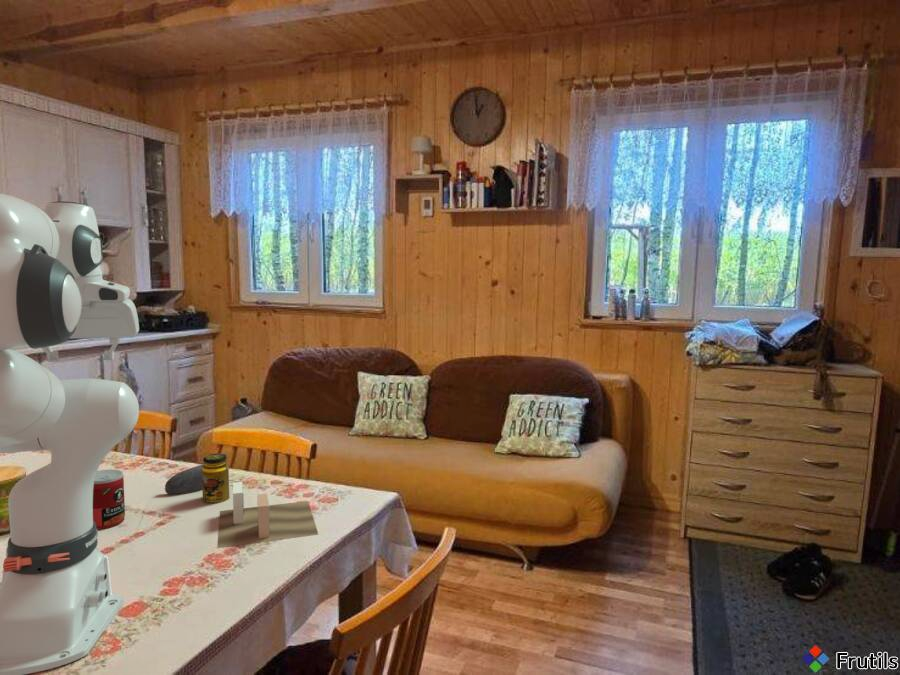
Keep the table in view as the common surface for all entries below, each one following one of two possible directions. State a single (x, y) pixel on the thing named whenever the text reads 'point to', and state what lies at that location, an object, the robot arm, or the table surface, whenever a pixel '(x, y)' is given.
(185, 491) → the perforated stone tool
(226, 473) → the condiment
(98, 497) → the canned food
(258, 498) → the terracotta tile
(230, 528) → the walnut board
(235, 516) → the cream tile
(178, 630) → the table surface
